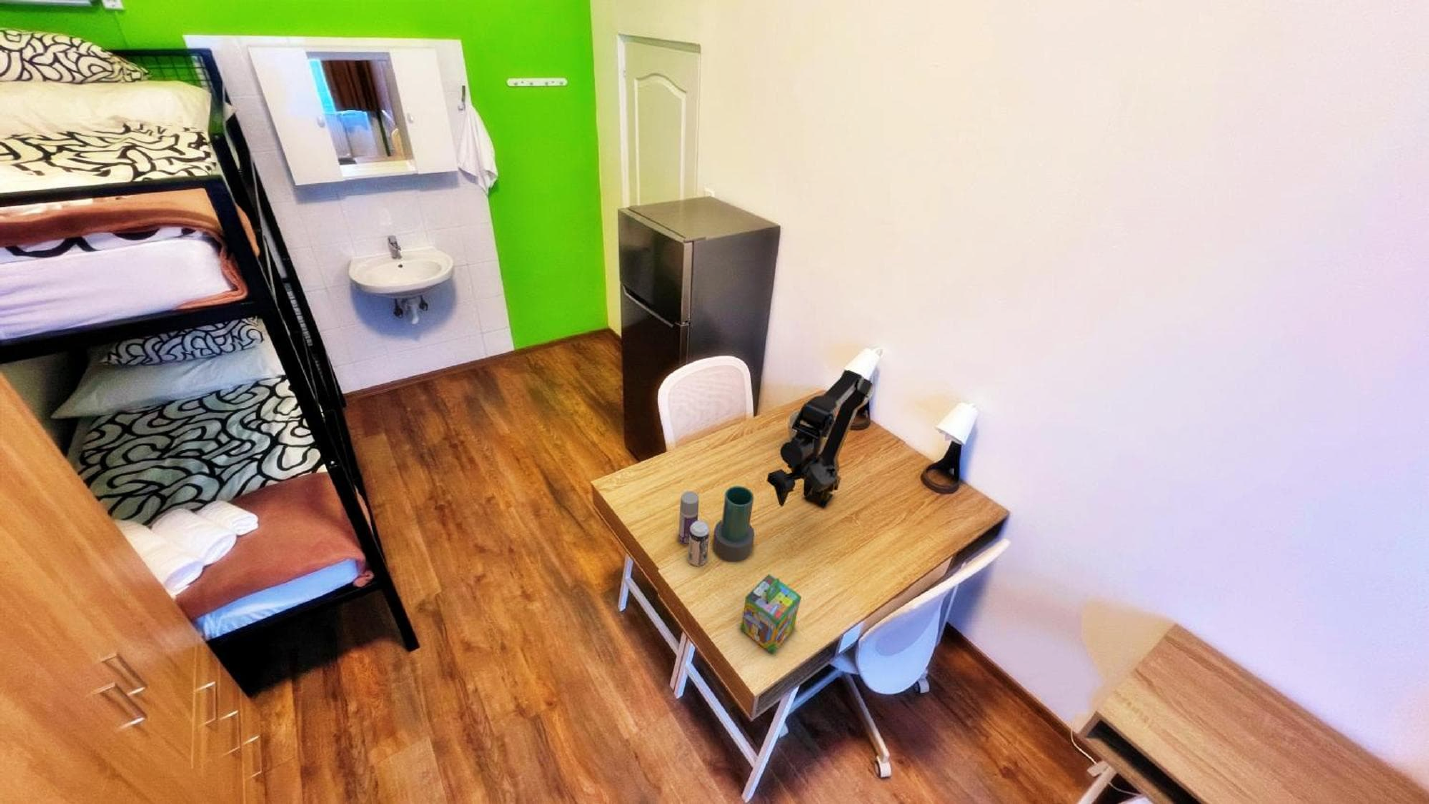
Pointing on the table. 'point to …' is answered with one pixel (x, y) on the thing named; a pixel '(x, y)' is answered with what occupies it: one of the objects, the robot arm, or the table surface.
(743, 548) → the grey pot
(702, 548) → the grey capped bottle
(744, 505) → the green cup
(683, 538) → the container
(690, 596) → the table surface
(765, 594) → the chalk box
